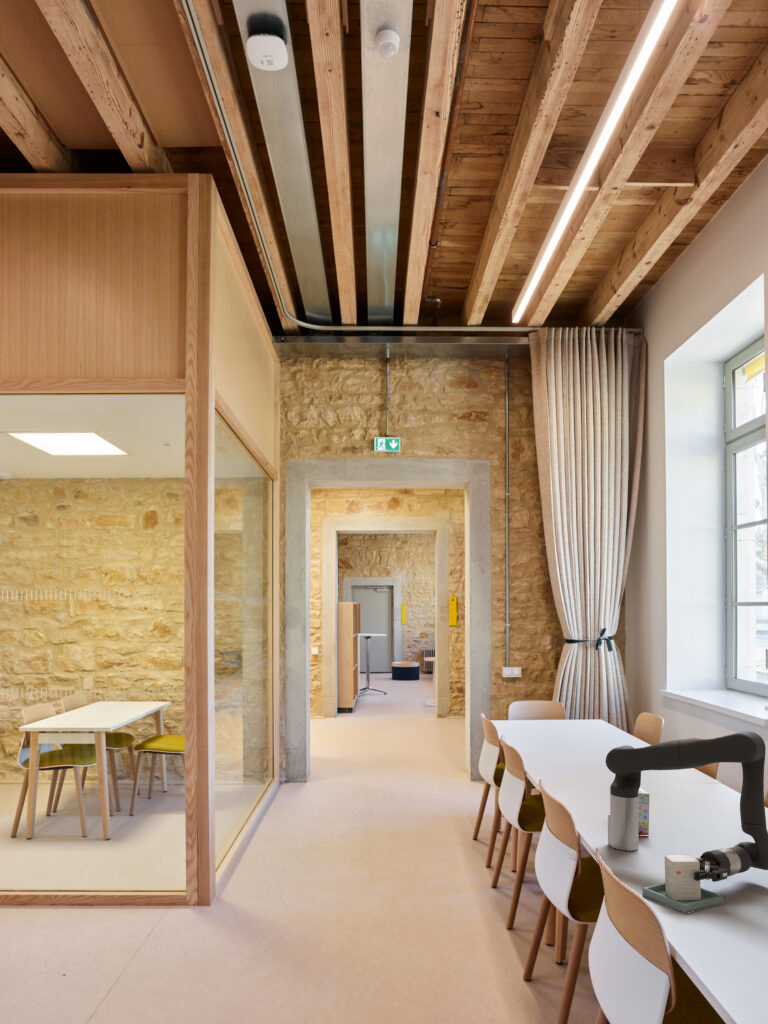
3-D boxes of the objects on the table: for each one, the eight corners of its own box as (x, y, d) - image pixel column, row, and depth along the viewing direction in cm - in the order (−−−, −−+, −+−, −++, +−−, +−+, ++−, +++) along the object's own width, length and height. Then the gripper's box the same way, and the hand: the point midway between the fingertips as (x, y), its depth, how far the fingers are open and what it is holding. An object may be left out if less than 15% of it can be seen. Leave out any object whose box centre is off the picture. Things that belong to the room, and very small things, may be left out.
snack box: (650, 837, 284) (650, 793, 286) (634, 836, 284) (634, 793, 286) (632, 820, 305) (632, 780, 307) (618, 820, 305) (618, 779, 307)
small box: (692, 893, 227) (691, 854, 229) (701, 900, 222) (700, 860, 223) (664, 893, 227) (663, 855, 228) (673, 901, 221) (672, 861, 223)
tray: (642, 895, 227) (642, 887, 227) (680, 887, 235) (679, 879, 235) (685, 913, 214) (685, 905, 214) (723, 904, 222) (723, 896, 222)
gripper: (699, 843, 239) (662, 850, 231) (742, 857, 227) (704, 865, 219) (699, 869, 239) (662, 877, 230) (742, 885, 226) (704, 894, 218)
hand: (682, 871), depth 225 cm, fingers open, 8 cm apart
